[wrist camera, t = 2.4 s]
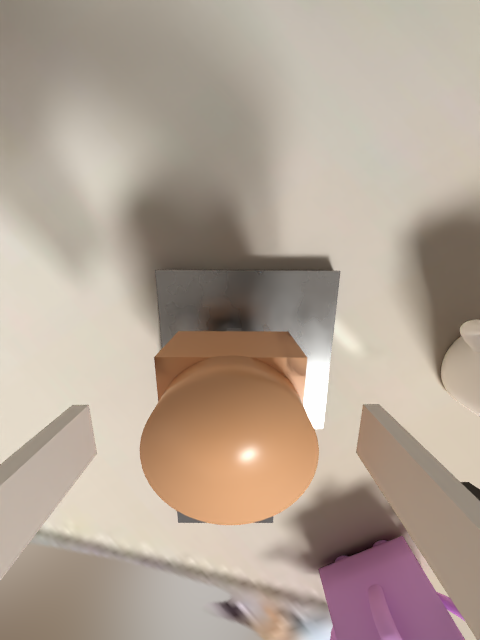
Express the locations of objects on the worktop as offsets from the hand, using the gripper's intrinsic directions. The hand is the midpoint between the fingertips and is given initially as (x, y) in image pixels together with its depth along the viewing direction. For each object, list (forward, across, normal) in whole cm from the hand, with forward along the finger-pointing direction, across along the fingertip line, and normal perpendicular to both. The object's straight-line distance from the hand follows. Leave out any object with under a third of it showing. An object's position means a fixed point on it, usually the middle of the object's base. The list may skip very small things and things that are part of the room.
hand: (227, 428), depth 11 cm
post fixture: (+9, 0, 0) cm, 9 cm away
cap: (+4, 0, 0) cm, 4 cm away
